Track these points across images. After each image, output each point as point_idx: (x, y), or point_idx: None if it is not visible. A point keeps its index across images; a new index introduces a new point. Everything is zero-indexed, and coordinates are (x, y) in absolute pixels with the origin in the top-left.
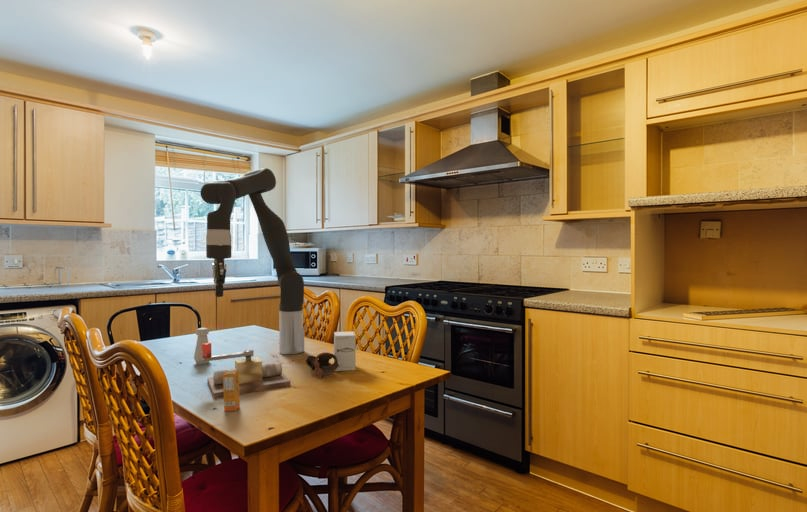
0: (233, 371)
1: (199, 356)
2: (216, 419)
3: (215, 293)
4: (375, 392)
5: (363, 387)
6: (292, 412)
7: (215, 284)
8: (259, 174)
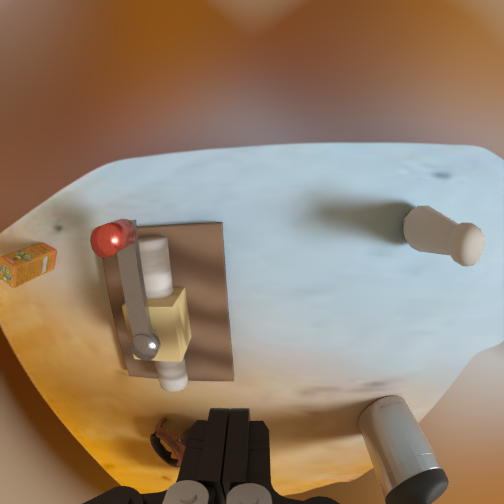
0: (9, 279)
1: (411, 219)
2: (23, 228)
3: (242, 422)
4: (81, 434)
5: (101, 436)
6: (27, 329)
7: (201, 488)
8: None
